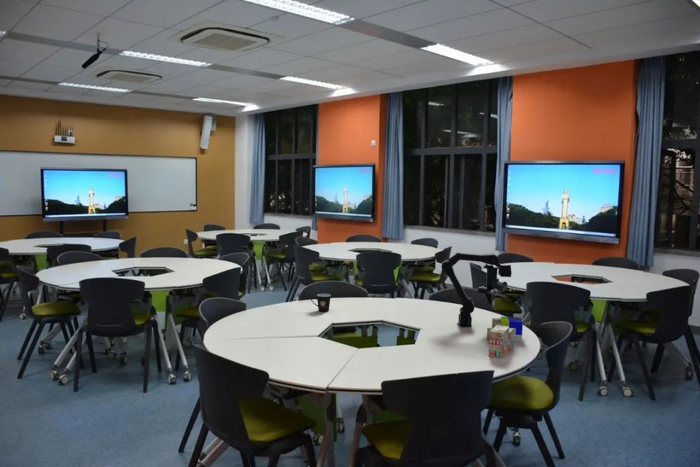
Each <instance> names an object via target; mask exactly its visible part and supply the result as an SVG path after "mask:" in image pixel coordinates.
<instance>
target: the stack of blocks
mask: <svg viewBox="0 0 700 467" xmlns="http://www.w3.org/2000/svg"><path fill="white" fill-rule="evenodd" d="M488 343H489V344H488V357H491V358H497V359H501V360H502V359H503V358H505V356H506V355H507V354H508V353H509V351H510V350H511V349H513V347H514V341H513V328H509V327H508V326H500V325H496V326H495V327H494V328H493V329H492V330H490V338H489V341H488Z"/></svg>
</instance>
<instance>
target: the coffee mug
mask: <svg viewBox="0 0 700 467" xmlns="http://www.w3.org/2000/svg"><path fill="white" fill-rule="evenodd" d="M331 297H332V295H331V294H329V293H318V294H316V296H312V297H310V298H311V299H310V301H311V302H312V304H313V305H315V306H316V307H317V308H318V312H319V313H328V312H329V311H330V305H331ZM313 299H316V301H317V304H316V303H315V302H314V301H313Z"/></svg>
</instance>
